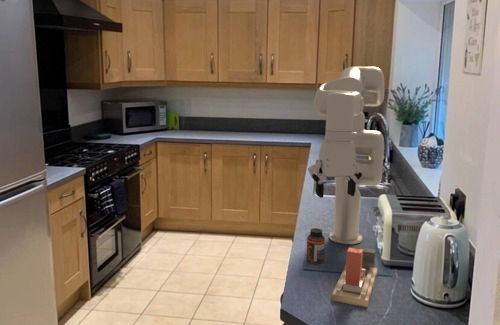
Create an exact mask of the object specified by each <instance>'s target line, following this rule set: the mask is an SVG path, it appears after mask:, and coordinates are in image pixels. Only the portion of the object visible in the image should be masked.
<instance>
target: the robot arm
mask: <svg viewBox="0 0 500 325" xmlns="http://www.w3.org/2000/svg"><path fill="white" fill-rule="evenodd" d="M385 83H386V82H385V75H384V72H383V70H382V69H381V68H379V67H377V66H348V67H346V68H344V69H343V70H342V71H341V72H340V75H339V77H338V78H337V79H334V80H330V81H327V82H324V83H323V84H321V85H319V88H318V89H317V91H316V92H315V95H314V99H313V107H314V111H315V113H316V114H317V115H319V116H322V117H323V116H324V117H325V136H324V138H325V139H324V140H322V141H321V144H320V149H319V154H318V162H316V163H315V164H312V165H311V166H309V167H308V168H307V170H308V173H309V175H310V178H312V179H313V181H314V182H315V194H316V197H319V198H322V199H323V198H324V194H325V193H324V190H325V185H324V181H325V180H326V178H334V181H335V182H334V183H335V184H334V185H335V196H334V198H335V199H334V213H333V214H334V215H333V216H334V217H333V231H331V232H330V233H329V234H328V235H329V236H328V238H329V240H330V241H332V242H334V243H336V244H341V245H358V244H359V243H361V242H362V241H363V235H361V234H360V233H359V232H360V231H359V228H360V218H361V217H360V214H361V202H362V201H361V200H362V197H361V196H362V195H361V192H360V190H359V188H358V187H357V185H361V186H378V185H380V184H381V182H382V178H383V170H384V169H383V168H384V167H383V166H384V155H385V139H384V135H383V134H382V132H381V131H379V130H374V129H373V130H372V129H371V130H370V129H365V122H366V117H365V116H366V115H365V113H364V107H380V106H381V105H382V104H383V103H384V100H385ZM357 156H364V157H368V158H370V159H363V158H356V157H357ZM316 171H317V173H318V174H316Z"/></svg>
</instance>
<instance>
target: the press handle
mask: <svg viewBox="0 0 500 325" xmlns="http://www.w3.org/2000/svg"><path fill="white" fill-rule="evenodd" d="M362 256H363V250H361V249H354V248H350V247H348V249H347V250H346V263H345V265H346V278H345V281H344V284H343V290H344V291H350V292H355V293H361V291H362V288H363V285H364V280H365V269H363V268H362Z"/></svg>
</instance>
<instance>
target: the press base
mask: <svg viewBox="0 0 500 325" xmlns="http://www.w3.org/2000/svg"><path fill="white" fill-rule="evenodd" d="M349 248H354V249H361V250H363V256H362V268H363V269H365V280H364V285H363V288H362V291H361V293H355V292H350V291H344V290H343V284H344V281H345V278H346V264H345V265H344V268H343V270H342V272H341V274H340V276H339V278H338V281H337V283H336V284H335V287H334V289H333V292H332V295H331V296H332V297H331V301H332V302H337V303H343V304H348V305H353V306H359V307H365V308H368V307H369V303H370V299H371V296H372V293H373V290H374V286H375V282H376V279H377V277H378V276H377V275H378V267H376V266H375V264H376V251H377V250H376V249H372V248H366V247H358V246H354V245H353V246H351V245H350V246H349Z"/></svg>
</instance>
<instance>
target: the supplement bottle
mask: <svg viewBox="0 0 500 325" xmlns="http://www.w3.org/2000/svg"><path fill="white" fill-rule="evenodd" d="M309 233H310V234H308V235H307V239H306V240H307V241H306V255H305V256H306V257H305V258H306V259H305V260H306V262H308V263H309V264H311V265H320V264H323V262H324V260H325V242H326V238H325V236H324V235H323V229H321V228H318V227H315V228H314V227H313V228H310V232H309Z"/></svg>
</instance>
